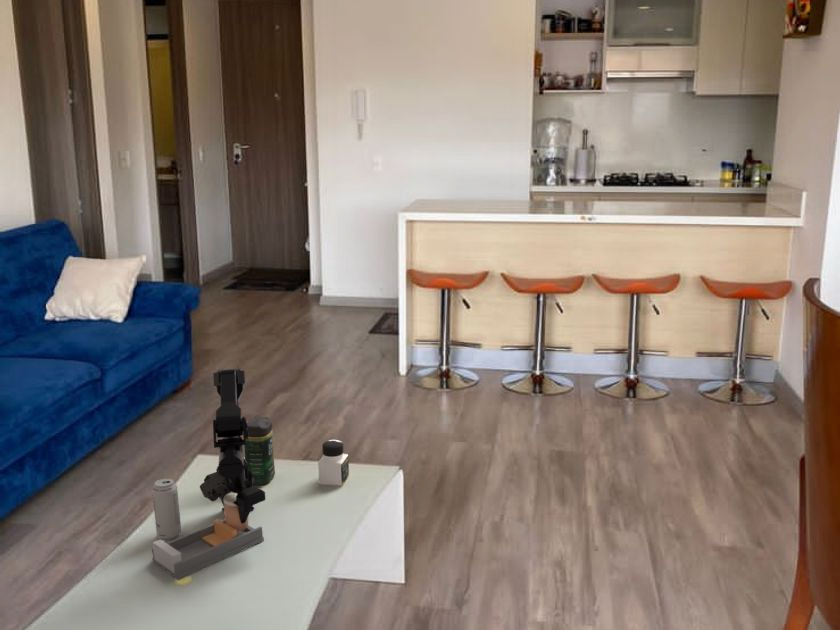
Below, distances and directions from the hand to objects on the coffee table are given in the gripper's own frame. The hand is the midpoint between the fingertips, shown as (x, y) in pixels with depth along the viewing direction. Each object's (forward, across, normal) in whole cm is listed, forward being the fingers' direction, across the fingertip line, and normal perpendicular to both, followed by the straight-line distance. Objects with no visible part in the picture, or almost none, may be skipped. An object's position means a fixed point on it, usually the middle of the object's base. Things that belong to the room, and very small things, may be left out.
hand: (236, 519), depth 201 cm
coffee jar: (+6, -25, +25) cm, 36 cm away
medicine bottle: (+6, -8, +39) cm, 40 cm away
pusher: (+4, 0, -5) cm, 7 cm away
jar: (+2, 0, 0) cm, 2 cm away
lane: (+5, 0, -8) cm, 10 cm away
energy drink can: (+6, -14, -11) cm, 19 cm away
